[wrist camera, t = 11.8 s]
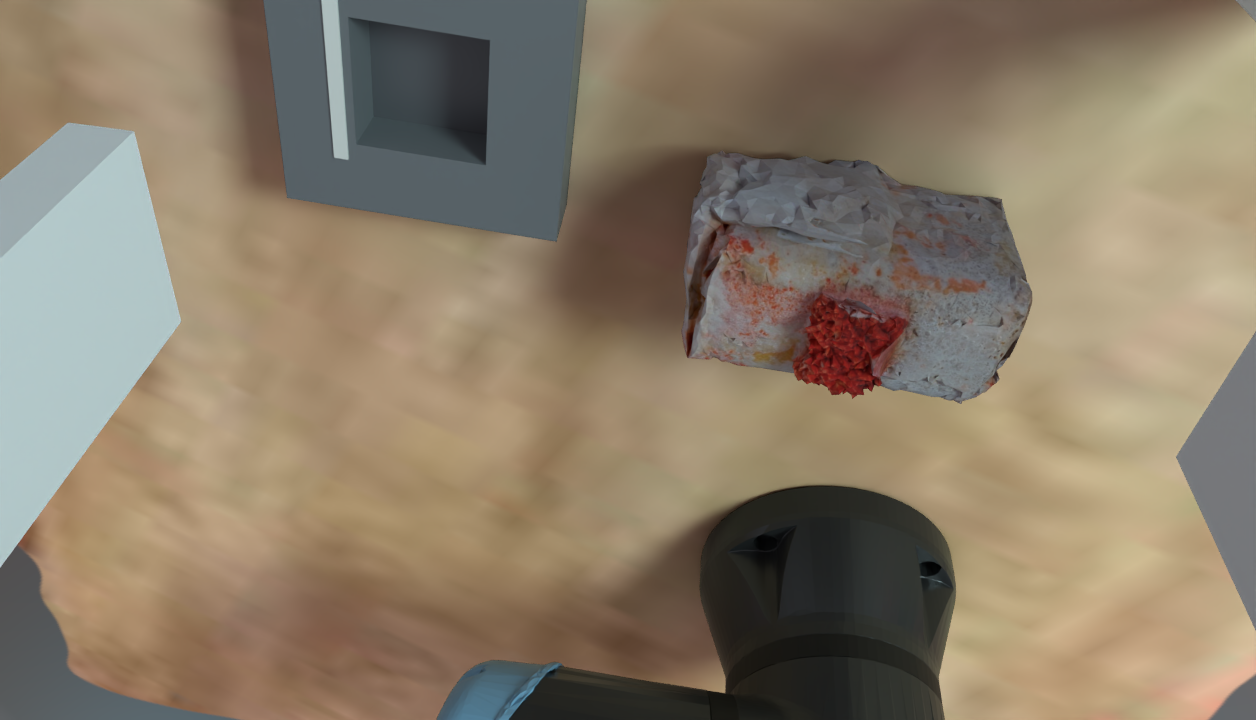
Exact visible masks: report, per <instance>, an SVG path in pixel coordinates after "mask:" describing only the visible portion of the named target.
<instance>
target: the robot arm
mask: <svg viewBox="0 0 1256 720" xmlns="http://www.w3.org/2000/svg"><path fill="white" fill-rule="evenodd" d="M180 322H181V319H180V315H179V311H178V307H177V303H176V299H175V295H174V291H173V287H172V283H171V279H170V275H169V271H168V267H167V263H166V259H165V255H164V251H163V247H162V242H161V238H160V234H159V230H158V226H157V222H156V218H155V214H154V210H153V206H152V202H151V198H150V194H149V190H148V186H147V182H146V178H145V174H144V170H143V166H142V162H141V158H140V154H139V150H138V146H137V142H136V138H135V134H134V131H127V130H120V129H112V128H105V127H97V126H90V125H82V124H75V123H67V124H66V125H65V126H64V127H62V128H61V129H60V130H59V131H58V132H56V133H55V134H54V135H53V136H52V137H51V138H49V139H48V140H47V141H46V142H45V143H43V144H42V145H41V146H40V147H39V148H38V149H36V150H35V151H34V152H33V153H32V154H30V155H29V156H28V157H27V158H26V159H25V160H23V161H22V162H21V163H20V164H19V165H17V166H16V167H15V168H14V169H13V170H12V171H10V172H9V173H8V174H7V175H6V176H4V177H3V178H2V179H1V180H0V567H1V566H2V564H3V563H4V561H5V560H6V559H7V558H8V556H9V555H10V553H11V552H12V551H13V549H14V548H15V547H16V545H17V544H18V543H19V541H20V540H21V538H22V537H23V536H24V534H25V533H26V532H27V530H28V529H29V528H30V526H31V525H32V524H33V522H34V521H35V519H36V518H37V517H38V515H39V514H40V513H41V511H42V510H43V509H44V507H45V506H46V504H47V503H48V502H49V500H50V499H51V498H52V496H53V495H54V494H55V492H56V491H57V490H58V488H59V487H60V485H61V484H62V483H63V481H64V480H65V479H66V477H67V476H68V475H69V473H70V472H71V471H72V469H73V468H74V466H75V465H76V464H77V462H78V461H79V460H80V458H81V457H82V456H83V454H84V453H85V451H86V450H87V449H88V447H89V446H90V445H91V443H92V442H93V441H94V439H95V438H96V437H97V435H98V434H99V432H100V431H101V430H102V428H103V427H104V426H105V424H106V423H107V422H108V420H109V419H110V417H111V416H112V415H113V413H114V412H115V411H116V409H117V408H118V407H119V405H120V404H121V403H122V401H123V400H124V398H125V397H126V396H127V394H128V393H129V392H130V390H131V389H132V388H133V386H134V385H135V384H136V382H137V381H138V379H139V378H140V377H141V375H142V374H143V373H144V371H145V370H146V369H147V367H148V366H149V364H150V363H151V362H152V360H153V359H154V358H155V356H156V355H157V354H158V352H159V351H160V350H161V348H162V347H163V345H164V344H165V343H166V341H167V340H168V339H169V337H170V336H171V335H172V333H173V332H174V330H175V329H176V328H177V326H178V325H179V324H180ZM1176 458H1177V460H1178V462H1179V464H1180V467H1181V469H1182V471H1183V473H1184V475H1185V477H1186V480H1187V482H1188V484H1189V486H1190V488H1191V491H1192V493H1193V495H1194V497H1195V499H1196V501H1197V504H1198V506H1199V508H1200V510H1201V512H1202V515H1203V517H1204V519H1205V521H1206V523H1207V525H1208V528H1209V530H1210V532H1211V534H1212V536H1213V538H1214V541H1215V543H1216V545H1217V547H1218V549H1219V552H1220V554H1221V556H1222V558H1223V560H1224V562H1225V565H1226V567H1227V569H1228V571H1229V573H1230V576H1231V578H1232V580H1233V582H1234V584H1235V586H1236V589H1237V591H1238V593H1239V595H1240V597H1241V599H1242V602H1243V604H1244V606H1245V608H1246V610H1247V613H1248V615H1249V617H1250V619H1251V621H1252V623H1253V626H1254V628H1255V630H1256V332H1255V334H1254V335H1253V337H1252V338H1251V340H1250V341H1249V343H1248V345H1247V346H1246V348H1245V349H1244V351H1243V352H1242V354H1241V356H1240V357H1239V359H1238V360H1237V362H1236V363H1235V365H1234V367H1233V368H1232V370H1231V371H1230V373H1229V374H1228V376H1227V378H1226V379H1225V381H1224V382H1223V384H1222V385H1221V387H1220V389H1219V390H1218V392H1217V393H1216V395H1215V396H1214V398H1213V400H1212V401H1211V403H1210V404H1209V406H1208V407H1207V409H1206V411H1205V412H1204V414H1203V415H1202V417H1201V418H1200V420H1199V422H1198V423H1197V425H1196V426H1195V428H1194V429H1193V431H1192V433H1191V434H1190V436H1189V437H1188V439H1187V440H1186V442H1185V444H1184V445H1183V447H1182V448H1181V450H1180V451H1179V453H1178V455H1177V456H1176ZM700 596H701V602H702V606H703V609H704V612H705V615H706V619H707V622H708V625H709V628H710V631H711V634H712V637H713V640H714V643H715V646H716V649H717V652H718V655H719V658H720V662H721V665H722V668H723V671H724V674H725V678H726V690H725V693H719V692H713V691H707V690H703V689H696V688H690V687H683V686H677V685H670V684H664V683H657V682H651V681H644V680H638V679H632V678H626V677H620V676H614V675H609V674H603V673H597V672H591V671H585V670H580V669H574V668H568V667H564V666H563V665H562V664H561V663H557V662H552V663H548V664H545V665H542V664H529V663H520V662H511V661H502V660H491V661H486V662H483V663H480V664H478V665H476V666H474V667H473V668H471V669H470V670H469V671H467V672H466V673H465V674H464V675H463V676H462V677H461V679H460V680H459V681H458V682H457V684H456V685H455V686H454V688H453V689H452V691H451V693H450V694H449V696H448V698H447V699H446V701H445V703H444V705H443V707H442V709H441V711H440V713H439V715H438V717H437V720H945V718H944V712H943V706H942V699H941V692H940V685H939V673H940V668H941V664H942V659H943V655H944V650H945V646H946V641H947V637H948V632H949V628H950V623H951V619H952V614H953V609H954V605H955V599H956V583H955V576H954V570H953V565H952V559H951V554H950V550H949V547H948V544H947V542H946V540H945V538H944V537H943V535H942V534H941V532H940V531H939V530H938V528H937V527H936V526H935V525H934V524H933V523H932V522H931V521H930V520H929V519H928V518H926V517H925V516H924V515H923V514H921V513H920V512H918V511H917V510H915V509H913V508H912V507H910V506H908V505H906V504H904V503H902V502H900V501H898V500H895V499H893V498H890V497H887V496H884V495H881V494H878V493H874V492H870V491H865V490H860V489H854V488H845V487H806V488H797V489H792V490H786V491H782V492H777V493H774V494H770V495H767V496H764V497H761V498H759V499H756V500H754V501H752V502H750V503H747V504H745V505H744V506H742V507H740V508H738V509H737V510H735V511H734V512H732V513H731V514H729V515H728V516H727V517H726V518H724V519H723V520H722V521H721V522H720V523H719V524H718V525H717V526H716V527H715V528H714V530H713V531H712V532H711V534H710V535H709V537H708V539H707V541H706V543H705V545H704V548H703V551H702V556H701V570H700Z"/></svg>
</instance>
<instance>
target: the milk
mask: <svg viewBox="0 0 1256 720" xmlns="http://www.w3.org/2000/svg"><path fill="white" fill-rule="evenodd" d="M1236 1H1237V2H1238V3H1239V4H1240V6H1241V7H1242V8H1243V9H1244V10H1245V11H1246V12H1247V13H1248V14H1249V15H1250V16H1251V17H1252V18H1253V19H1254V20H1255V21H1256V0H1236Z"/></svg>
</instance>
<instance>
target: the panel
mask: <svg viewBox="0 0 1256 720" xmlns="http://www.w3.org/2000/svg"><path fill="white" fill-rule="evenodd" d="M263 1H264V9H265V17H266V25H267V34H268V42H269V50H270V59H271V67H272V75H273V84H274V92H275V100H276V109H277V117H278V125H279V134H280V142H281V150H282V159H283V167H284V175H285V183H286V192H287V198H291V199H298V200H304V201H310V202H316V203H322V204H328V205H335V206H341V207H347V208H353V209H359V210H365V211H371V212H378V213H384V214H390V215H396V216H402V217H408V218H414V219H421V220H427V221H433V222H439V223H445V224H451V225H458V226H464V227H470V228H476V229H482V230H488V231H494V232H501V233H507V234H513V235H519V236H525V237H531V238H538V239H544V240H550V241H557V238H558V234H559V231H560V227H561V223H562V220H563V216H564V213H565V209H566V205H567V195H568V185H569V175H570V165H571V155H572V144H573V134H574V124H575V114H576V104H577V94H578V83H579V73H580V63H581V53H582V43H583V33H584V22H585V12H586V2H587V0H263Z"/></svg>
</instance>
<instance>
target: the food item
mask: <svg viewBox="0 0 1256 720" xmlns="http://www.w3.org/2000/svg"><path fill="white" fill-rule="evenodd" d="M700 185H701V186H702V188H701V189H700V191H699V193H698V195H697V196H696V197H694V200H693V207H692V214H691V225H690V231H689V236H688V242H687V256H686V261H685V266H684V281H685V289H686V298H687V301H686V309H685V316H684V324H683V328H682V337H683V343H684V348H685V351H686V355H687V358H696V359H711V358H713V357H715V358H718V359H719V360H720V361H727V362H730V363H732V364H735V365H739V366H750V367H760V368H765V369H771V370H777V371H784V372H790V373H794V374H795V376H796V378H797V380H798V381H799V380H801V379H802V380H803V381H804V382H805V383H806V384H808V383H811V382H812V383H814V384H815V383H816V384H818V385H820V384H822V385H824V386H826V387H828V391H829V390H830V392H831V394H832V395H839V394H840V393H841V392H843V394H844V393H845V392H848V393H850V394H851V395H852V398H854V397H855V396H857V395H864V392H863V389H867V388H868V389H869V390H870V391H871V392H872V389H873V387H874V385H876V386H882V387H885V388H888V389H891V390H893V391H895V390H904V391H909V392H913V393H918V394H922V395H927V396H931V397H941V398H944V399H946V400H954V401H956V402H958V403H960V404H961V403H962V401H964V400H968V399H971V398H974V397H977V396H978V395H980V394H981V393H984V392H986V391H987V390H988V389H989V388H990V387H991V386H992V385H994V384H995V383H997V381H998V380H999V376H998V373H997V369H999V368H1000V367H1001V366H1002V365H1003V364H1004V362H1005V361H1006V360H1007V358H1009V357H1010V355H1011V353H1012V351H1013V349H1014V347H1015V345H1016V343H1017V341H1018V338H1019V336H1020V334H1021V332H1022V330H1023V328H1024V325H1025V322H1026V320H1027V317H1028V314H1029V311H1030V307H1031V304H1032V291H1031V289H1030V286H1029V284H1028V283H1027V280H1026V274H1025V271H1024V268H1023V265H1022V262H1021V259H1020V256H1019V253H1018V251H1017V248H1016V246H1015V242H1014V239H1013V235H1012V232H1011V230H1010V228H1009V225H1008V223H1007V220H1006V216H1005V212H1004V208H1003V204H1002V199H999V198H993V197H978V196H960V195H945V194H943V193H941V192H938V191H935V190H931V189H927V188H923V187H918V186H909V185H901V184H900V183H898V182H897V181H895V180H894V179H892V178H891V177H889V176H888V175H887V174H886V173H885V172H884V171H882V170H881V169H880V168H879V167H878V166H877V165H873V164H871V163H870V162H868V161H861V160H858V161H855V162H849V161H839V160H835V161H833V162H831V163H829V164H825V163H821V162H818V161H816V160H813V159H811V158H809V157H806V156H804V157H800V158H796V159H792V160H784V159H757V158H752V157H749V156H746V155H742V154H739V153H728V154H726V153H725V152H723V151H720V152H719V153H718V154H712V155H710V156H708V157H707V167H706V169H705V170H704V171H703V175H702V179H701V181H700Z"/></svg>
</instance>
